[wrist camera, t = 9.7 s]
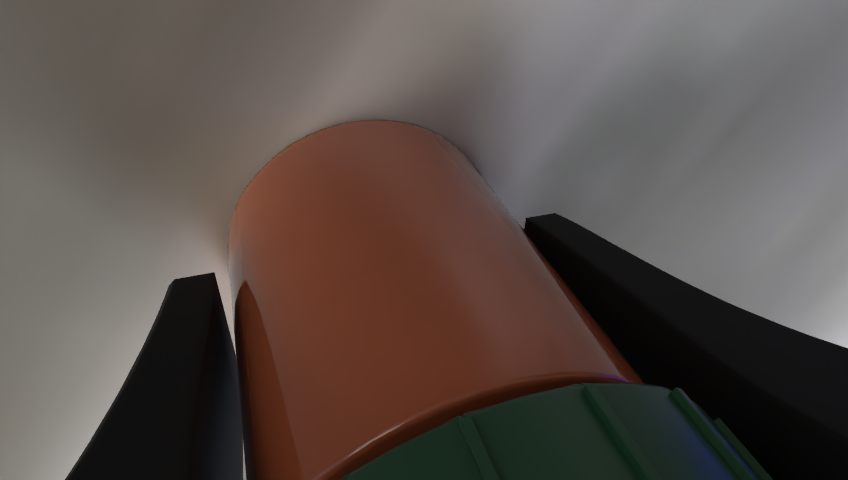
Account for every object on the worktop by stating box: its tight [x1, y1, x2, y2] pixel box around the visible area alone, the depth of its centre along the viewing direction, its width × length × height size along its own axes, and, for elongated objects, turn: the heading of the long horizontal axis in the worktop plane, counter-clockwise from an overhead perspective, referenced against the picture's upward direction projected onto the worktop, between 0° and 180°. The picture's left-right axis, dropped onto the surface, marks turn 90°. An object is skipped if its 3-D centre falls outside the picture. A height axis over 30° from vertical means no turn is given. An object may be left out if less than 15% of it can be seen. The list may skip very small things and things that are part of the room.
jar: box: [227, 120, 645, 480], centre depth 8 cm, size 5×5×8 cm
